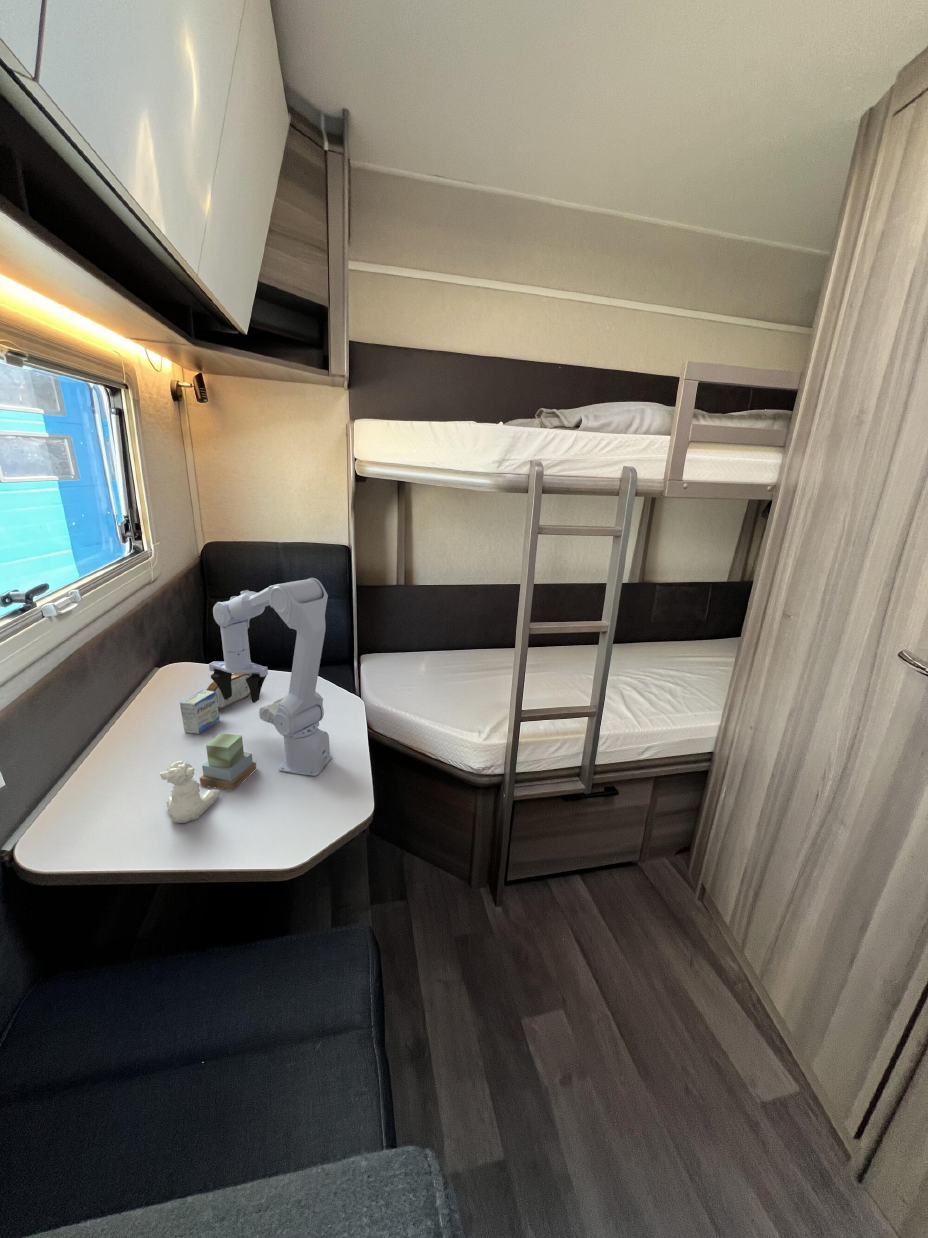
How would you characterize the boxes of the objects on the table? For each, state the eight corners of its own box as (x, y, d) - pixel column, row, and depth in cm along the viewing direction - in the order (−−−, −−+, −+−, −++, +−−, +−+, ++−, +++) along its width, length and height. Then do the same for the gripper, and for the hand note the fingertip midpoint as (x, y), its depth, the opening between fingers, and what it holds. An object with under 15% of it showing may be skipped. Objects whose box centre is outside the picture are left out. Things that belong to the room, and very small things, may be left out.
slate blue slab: (252, 763, 105) (251, 753, 105) (231, 781, 99) (230, 771, 98) (226, 758, 107) (225, 748, 106) (203, 775, 100) (202, 765, 100)
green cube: (244, 755, 104) (241, 735, 102) (230, 768, 99) (228, 747, 98) (223, 753, 104) (220, 733, 103) (208, 765, 100) (206, 745, 98)
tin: (250, 691, 144) (247, 666, 142) (257, 694, 143) (254, 668, 140) (205, 711, 131) (201, 684, 128) (213, 714, 130) (209, 686, 127)
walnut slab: (256, 771, 106) (255, 762, 106) (234, 793, 99) (233, 783, 98) (225, 766, 108) (224, 757, 107) (200, 788, 100) (199, 778, 99)
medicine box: (198, 734, 119) (194, 704, 117) (183, 732, 120) (179, 702, 118) (220, 720, 127) (216, 691, 124) (205, 718, 127) (201, 689, 125)
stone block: (256, 724, 129) (279, 728, 124) (253, 707, 128) (276, 710, 123) (291, 709, 139) (314, 711, 134) (288, 693, 138) (311, 696, 133)
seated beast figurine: (221, 795, 97) (214, 744, 94) (212, 823, 89) (204, 769, 86) (169, 802, 95) (161, 750, 91) (155, 831, 87) (145, 776, 83)
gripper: (272, 645, 115) (277, 695, 119) (220, 640, 117) (226, 689, 121) (256, 655, 109) (261, 708, 112) (200, 650, 111) (207, 701, 115)
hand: (241, 699), depth 116 cm, fingers open, 7 cm apart
